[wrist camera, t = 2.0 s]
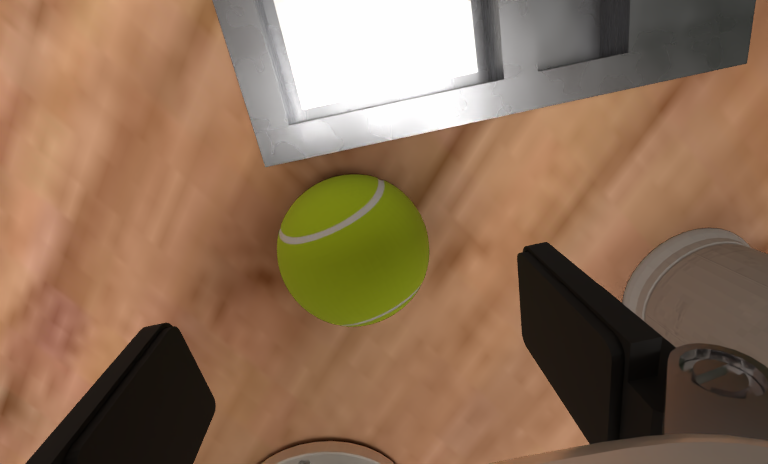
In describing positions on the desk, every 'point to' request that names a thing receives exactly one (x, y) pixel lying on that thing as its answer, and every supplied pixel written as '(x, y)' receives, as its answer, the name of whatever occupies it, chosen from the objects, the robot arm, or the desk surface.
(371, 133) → the tray
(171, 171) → the desk surface
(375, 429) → the desk surface
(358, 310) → the tennis ball
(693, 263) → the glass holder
